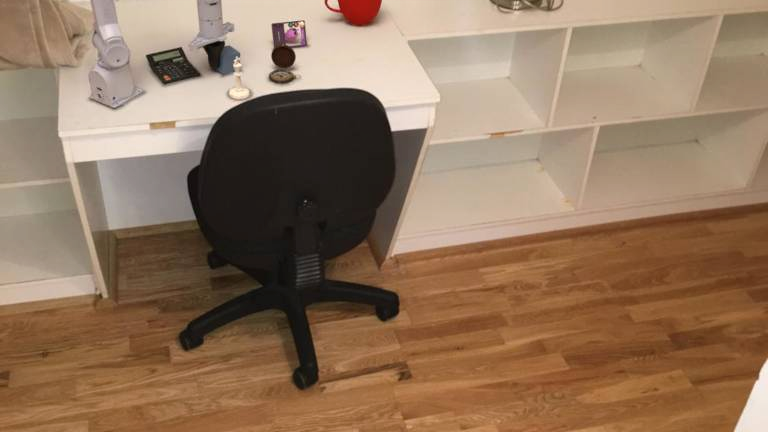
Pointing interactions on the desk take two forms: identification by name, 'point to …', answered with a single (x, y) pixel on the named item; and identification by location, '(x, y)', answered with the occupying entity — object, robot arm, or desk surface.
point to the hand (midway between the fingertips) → (214, 66)
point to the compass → (282, 64)
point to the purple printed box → (288, 33)
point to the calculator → (171, 65)
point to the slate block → (228, 60)
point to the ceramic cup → (358, 10)
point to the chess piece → (238, 82)
